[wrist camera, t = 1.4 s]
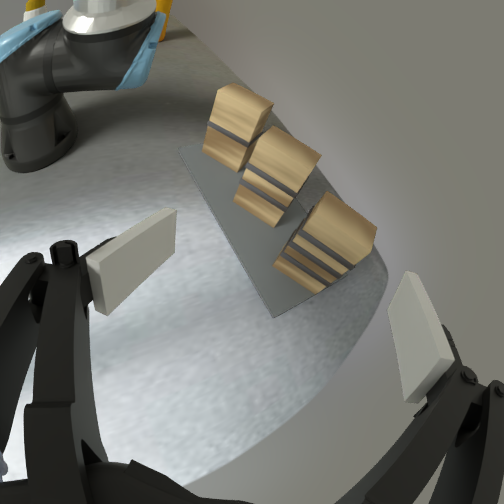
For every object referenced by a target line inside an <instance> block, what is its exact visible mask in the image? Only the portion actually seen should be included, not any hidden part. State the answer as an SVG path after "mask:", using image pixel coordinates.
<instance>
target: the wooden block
mask: <svg viewBox="0 0 504 504" xmlns="http://www.w3.org/2000/svg"><path fill="white" fill-rule="evenodd" d="M321 156H322V155H321V154H319V153H317V152H316V151H314V150H313V149H311V148H310V147H308V146H307V145H305V144H303V143H301V142H300V141H299V140H297V139H295V138H294V137H292V136H290V135H289V134H287V133H285V132H284V131H282V130H280V129H279V128H277V127H275V126H274V125H273V126H272V127H271V128H270V129H269V130H268V131H266V132H265V133H264V134H263V135H262V136H261V137H260V138H259V139H258V142H257V144H256V146H255V149H254V151H253V153H252V156H251V158H250V160H249V161H248V162H247V164H246V166H245V168H246V170H245V172H244V175H243V176H242V177H241V178H240V181H239V187H238V189H237V192H236V194H235V197H234V199H233V202H234V203H236V204H237V205H239V206H240V207H242V208H244V209H245V210H247V211H248V212H250V213H251V214H253V215H254V216H256V217H257V218H259V219H260V220H262V221H264V222H265V223H267V224H268V225H270V226H271V227H273V228H274V227H275V225H276V224H277V222H278V221H279V219H280V218H281V216H282V215H283V213H284V212H286V211H287V209H288V208H289V206H290V205H291V203H292V202H293V200H294V199H295V198H296V196H297V195H298V193H299V191H300V190H301V188H302V187H303V185H304V184H305V182H306V181H307V179H308V177H309V174H310V173H311V171H312V170H313V168H314V167H315V165H316V163H317V162H318V160H319V159H320V157H321Z"/></svg>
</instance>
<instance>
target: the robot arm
mask: <svg viewBox="0 0 504 504" xmlns="http://www.w3.org/2000/svg"><path fill="white" fill-rule="evenodd" d="M73 2H74V5H73V6H72V7H71V8H70V9H69V10H68V11H67V13H66V14H65V16H64V18H63V19H61V18H62V16H63V15H62V13H61V11H60V10H56V11H50V12H46V13H44V14H41V15H38V16H36V17H33V18H31V19H29V20H27V21H25V22H23V23H21V24H19V25H17V26H15V27H13V28H11V29H10V30H8V31H7V32H5V33H3V34H2V35H1V36H0V119H1V123H2V128H1V152H2V157H3V159H4V162H5V164H6V166H7V167H8V168H9V169H10V170H12V171H14V172H19V173H25V172H31V171H35V170H38V169H41V168H43V167H45V166H47V165H49V164H51V163H53V162H54V161H56V160H57V159H59V158H60V157H61V156H62V155H64V154H65V153H66V152H67V151H68V150H69V148H70V147H71V146H72V145H73V143H74V141H75V139H76V137H77V131H78V130H77V122H76V118H75V115H74V114H73V112H72V110H71V108H70V106H69V104H68V103H67V101H66V99H65V97H64V94H63V93H65V92H77V91H95V90H119V89H129V88H137V87H140V86H142V85H143V84H144V83H145V82H146V80H147V78H148V75H149V72H150V68H151V65H152V61H153V58H154V54H155V51H156V47H157V44H158V41H159V38H160V35H161V32H162V29H163V26H164V23H165V19H166V14H165V13H161V12H159V11H157V12H155V11H156V0H73ZM176 216H177V210H175V209H170V208H166V207H165V208H163V209H162V210H160V211H158V212H157V213H155V214H153V215H151V216H150V217H148V218H146V219H145V220H143V221H141V222H140V223H138V224H136V225H135V226H133V227H132V228H130V229H128V230H127V231H125V232H124V233H122V234H120V235H119V236H117V237H113V238H110V239H107V240H105V241H103V242H102V243H100V245H97V246H96V247H94V248H93V249H91V250H90V251H88V252H86V253H85V254H83V255H82V256H80V257H79V254H78V247H77V243H76V242H75V241H72V240H63V241H59V242H56V243H54V244H53V245H52V246H51V247H50V254H51V259H52V264H47V263H45V262H44V258H43V255H42V254H41V253H38V252H31V253H28V254H27V255H25V256H23V257H22V258H21V259H20V260H19V262H18V263H17V264H16V265H15V267H14V268H13V269H12V271H11V272H10V273H9V275H8V276H7V277H6V279H5V280H4V281H3V283H2V284H1V286H0V504H253V503H249V502H245V501H239V500H236V501H235V500H221V499H209V498H202V497H198V496H196V495H194V494H193V493H191V492H189V491H188V490H186V489H185V488H183V487H182V486H180V485H179V484H177V483H176V482H174V481H173V480H171V479H170V478H169V477H167V476H166V475H164V474H162V473H159V472H157V471H155V470H153V469H151V468H149V467H146V466H144V465H142V464H140V463H138V462H136V461H134V460H131V462H130V463H129V464H124V463H118V462H109V461H108V457H107V454H106V452H105V449H104V447H103V444H102V441H101V438H100V432H99V427H98V421H97V415H96V408H95V401H94V393H93V383H92V373H91V359H90V338H89V307H88V304H89V303H90V302H91V301H92V300H93V302H94V307H95V310H96V311H98V312H100V313H102V314H104V315H106V316H108V315H109V314H110V313H111V312H112V311H113V310H114V309H115V308H116V307H117V306H118V305H120V304H121V303H122V302H123V301H124V300H125V299H126V298H127V297H128V296H129V295H130V294H131V293H132V292H133V291H134V290H135V289H136V288H137V287H138V286H139V285H140V284H141V283H142V282H143V281H145V280H146V279H147V278H148V277H149V276H150V275H151V274H152V273H153V272H154V271H155V270H156V269H157V268H158V267H159V266H161V265H162V264H163V263H164V262H165V261H166V260H167V259H168V258H169V257H170V256H171V255H173V254H174V253H175V233H176ZM29 298H30V299H29ZM28 299H29V301H28ZM387 313H388V318H389V322H390V326H391V331H392V335H393V340H394V345H395V350H396V355H397V360H398V366H399V372H400V377H401V384H402V390H403V397H404V402H408V403H419V402H420V401H421V400H422V399H423V398H424V397H425V395H426V397H427V403H426V404H425V405H424V406H423V407H422V408H421V409H420V410H419V411H418V412H417V413H416V414H415V415H414V417H415V419H414V420H413V421H412V422H411V424H410V425H409V426H408V428H407V429H406V430H405V431H404V433H403V434H402V435H401V436H400V438H399V439H398V440H397V442H395V444H394V445H393V446H392V447H391V448H390V450H389V451H388V452H387V453H386V454H385V455H384V456H383V457H382V459H381V460H380V461H379V462H378V463H377V464H376V465H375V466H374V467H373V468H372V469H371V470H370V471H369V472H368V473H367V474H366V475H365V476H364V477H363V478H362V479H361V480H360V481H359V482H358V483H357V484H356V485H355V486H354V487H353V488H352V489H351V490H349V491H348V492H347V493H346V494H345V495H344V496H343V497H342V498H341V499H339V500H338V501H337V502H336V503H335V504H413V502H414V501H415V500H416V498H417V497H418V496H419V494H420V493H421V491H422V490H423V488H424V487H425V486H426V484H427V483H428V481H429V480H430V478H431V477H432V475H433V474H434V472H435V471H436V469H437V468H438V466H439V464H440V462H441V461H442V459H443V458H444V456H445V454H446V452H447V454H446V457H445V461H444V464H443V467H442V470H441V473H440V476H439V478H438V482H437V484H436V487H435V489H434V492H433V494H432V497H431V499H430V501H429V504H497V503H498V499H499V495H500V490H501V486H502V480H503V475H504V384H503V383H502V382H500V381H498V380H493V381H492V382H491V383H490V384H489V385H488V387H486V386H483V385H481V384H479V383H478V379H477V376H476V374H475V373H474V372H473V371H472V370H471V369H470V368H468V367H467V366H463V365H462V362H461V359H460V357H459V354H458V351H457V349H456V347H455V344H454V342H453V339H452V337H451V334H450V332H449V331H448V330H447V328H446V327H445V326H444V325H442V324H441V323H440V321H439V319H438V316H437V314H436V312H435V310H434V307H433V305H432V303H431V301H430V299H429V297H428V295H427V293H426V290H425V289H424V286H423V284H422V282H421V280H420V278H419V276H418V274H416V273H413V272H409V271H405V273H404V276H403V278H402V280H401V282H400V284H399V286H398V288H397V291H396V293H395V295H394V297H393V299H392V301H391V303H390V305H389V307H388V309H387ZM36 347H37V348H36ZM35 349H36V357H35V368H34V383H33V401H32V403H31V404H26V406H25V408H24V446H25V459H26V469H27V477H28V479H22V480H15V481H7V482H3V480H2V475H3V476H4V475H6V474H7V472H8V467H7V464H6V463H5V461H4V460H3V452H4V450H5V448H6V445H7V442H8V439H9V435H10V432H11V428H12V423H13V419H14V415H15V411H16V407H17V404H18V400H19V396H20V393H21V390H22V386H23V383H24V380H25V377H26V374H27V371H28V368H29V365H30V363H31V360H32V357H33V354H34V352H35Z"/></svg>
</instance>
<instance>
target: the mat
mask: <svg viewBox="0 0 504 504" xmlns="http://www.w3.org/2000/svg"><path fill="white" fill-rule="evenodd" d="M203 144H204V143H201V144H195V145H190V146H185V147H180V148H177V150H178V152H179V154H180V156H181V158H182V159H183V161H184V163H185V165H186V167H187V168H188V170H189V172H190V174H191V176H192V177H193V179H194V181H195V183H196V185H197V186H198V188H199V190H200V192H201V194H202V195H203V197H204V199H205V201H206V203H207V204H208V206H209V208H210V210H211V211H212V213H213V215H214V217H215V218H216V220H217V222H218V224H219V226H220V227H221V229H222V231H223V233H224V234H225V236H226V238H227V240H228V241H229V243H230V245H231V247H232V248H233V250H234V252H235V254H236V255H237V257H238V259H239V261H240V262H241V264H242V266H243V268H244V269H245V271H246V273H247V274H248V276H249V278H250V280H251V281H252V283H253V285H254V287H255V288H256V290H257V292H258V293H259V295H260V297H261V299H262V300H263V302H264V304H265V305H266V307H267V309H268V311H269V312H270V314H271V316H272V317H273V318H275V317H277V316H278V315H280V314H282V313H284V312H286V311H287V310H289V309H291V308H293V307H295V306H296V305H298V304H300V303H302V302H303V301H305V300H307V299H308V298H310V297H312V296H314V295H315V294H314V293H312V292H311V291H309V290H308V289H306V288H305V287H303V286H302V285H300V284H299V283H297V282H296V281H294V280H293V279H291V278H290V277H288V276H287V275H285V274H284V273H282V272H281V271H279V270H278V269H276V268H274V267H273V266H272V265H273V263H274V262H275V260H276V258H277V257H278V255H279V253H280V252H281V250H282V248H283V246H284V245H285V244H286V242H287V241H288V240H289V238H290V236H291V235H292V233H293V231H294V230H295V229H297V228H298V226H299V224H300V223H301V221H302V220H303V219H304V218H306V217H307V213H306V212H305V210H304V209H303V208H302V206H301V205H300V203H299V202H298V201H297V199H296V198H295V199H294V200H293V202H292V203H291V205H290V206H289V208H288V209H287V211H286V212H284V213H283V215H282V216H281V218H280V219H279V221H278V222H277V224H276V225H275V227H274V228H273V227H271V226H270V225H268V224H267V223H265V222H264V221H262V220H260V219H259V218H257V217H256V216H254V215H253V214H251V213H250V212H248V211H247V210H245V209H244V208H242V207H240V206H239V205H237V204H236V203H234V202H233V199H234V197H235V194H236V192H237V189H238V187H239V181H240V178H241V177H242V176H243V175H244V172H245V170H246V168H245V166H246V164H247V163H246V164H245V165H244V166H243V167H242V168H241V169H240V170H239V171H238V172H235V171H233V170H232V169H230V168H228V167H227V166H225V165H223V164H222V163H220V162H218V161H217V160H215V159H213V158H212V157H210V156H208V155H207V154H205V153H203V152H202V148H203ZM254 149H255V148H254ZM251 156H252V155H251ZM345 276H347V273H346V272H345V273H344V274H343V277H341V278H340V279H342V278H344V277H345ZM340 279H339V280H340ZM339 280H338V279H336V280H334V281H333V282H332V284H334V283H336V282H337V281H339ZM330 286H331V285H330ZM326 288H327V287H325V288H324V289H326ZM324 289H322V290H324ZM322 290H321V291H322ZM318 293H319V292H318Z"/></svg>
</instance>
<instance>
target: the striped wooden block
mask: <svg viewBox="0 0 504 504" xmlns="http://www.w3.org/2000/svg"><path fill="white" fill-rule="evenodd" d="M376 230H377V227H376V226H374V225H373V224H372V223H371V222H369V221H368V220H367V219H366V218H364V217H363V216H362V215H360V214H359V213H357V212H356V211H355V210H353V209H352V208H351V207H349V206H348V205H347V204H345V203H344V202H342V201H341V200H340V199H338V198H337V197H335V196H334V195H332V194H331V193H330V192H328V191H326V193H325V194H324V195H323V196H322V198H321V199H320V200H319V202H318V203H317V204H316V205H315V206H313V207H312V208H311V210H310V211H309V213H308V215H307V217H306V218H304V219H303V220H302V221H301V223H300V224H299V226H298V228H297V229H295V230H294V231H293V233H292V235H291V236H290V238H289V240H288V241H287V242H286V244H285V245H284V246H283V248H282V250H281V252H280V253H279V255H278V257H277V258H276V260H275V262H274V263H273V265H272V266H273V267H274V268H276V269H278V270H279V271H281V272H282V273H284V274H285V275H287V276H288V277H290V278H291V279H293V280H294V281H296V282H297V283H299V284H300V285H302V286H303V287H305V288H306V289H308V290H309V291H311V292H312V293H314V294H317V293H318V292H320V291H321V290H322V289H324V288H325V287H329V286H330V285H332V282H333V281H334V280H336V279H338V280H339V279H340V278H341V277H343V274H344V273H345V272H346V271H348V270H350V271H351V270H352V269H353V268H355V265H356V264H357V263H358V262H359V261H361V260H362V259H363V258H364V257H366V256H367V255H368V254H369V253H371V250H372V246H373V242H374V238H375V234H376Z"/></svg>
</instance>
